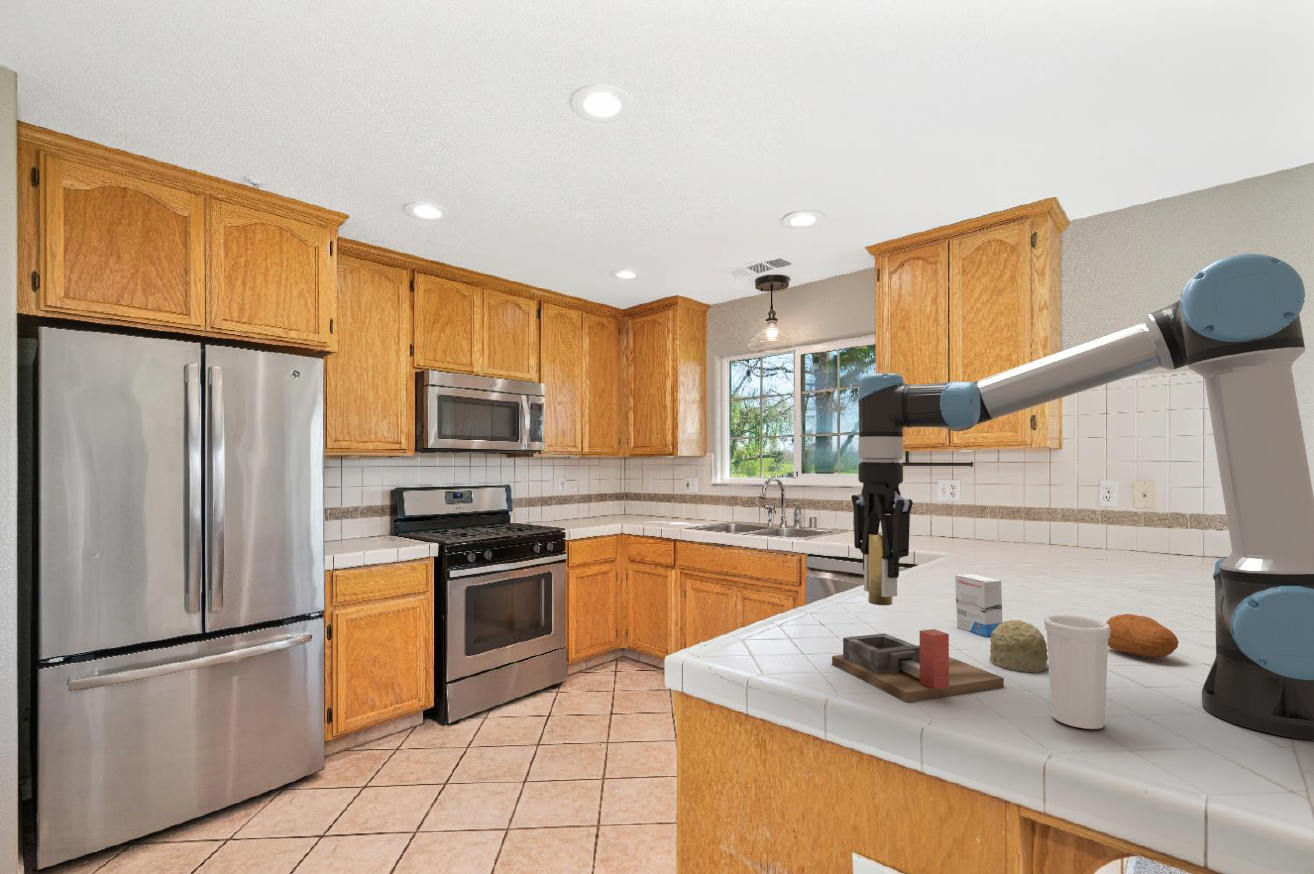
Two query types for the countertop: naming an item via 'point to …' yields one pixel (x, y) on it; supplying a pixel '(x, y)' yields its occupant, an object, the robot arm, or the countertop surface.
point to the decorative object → (1018, 647)
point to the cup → (1077, 669)
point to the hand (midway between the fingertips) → (880, 592)
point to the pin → (930, 660)
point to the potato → (1140, 636)
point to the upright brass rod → (876, 571)
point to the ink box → (978, 603)
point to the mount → (880, 668)
